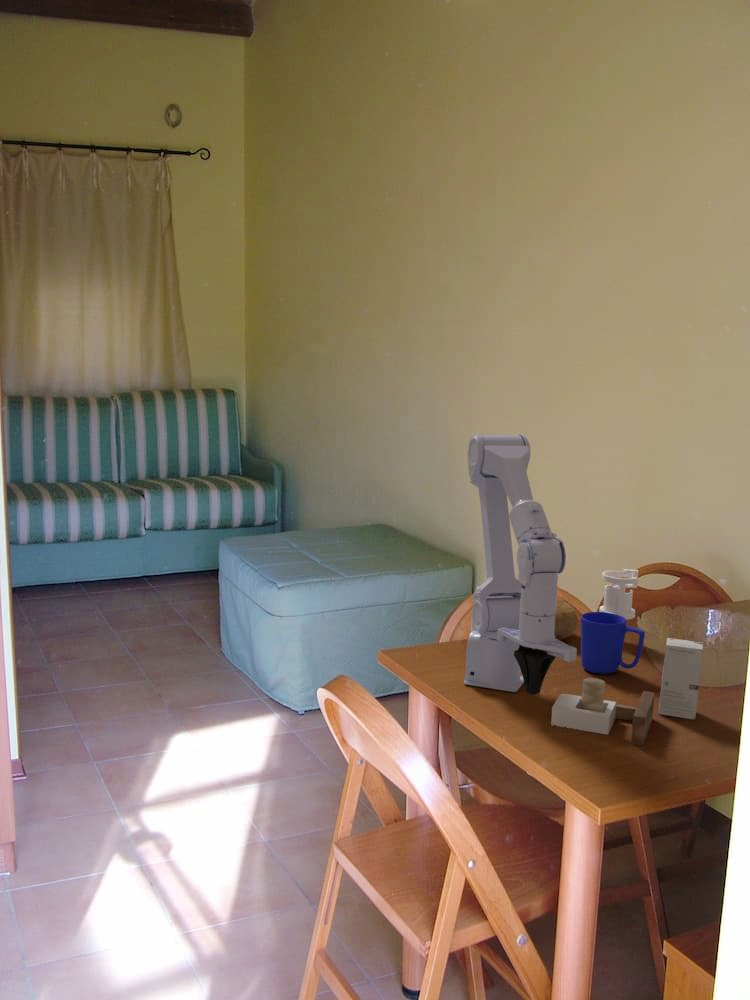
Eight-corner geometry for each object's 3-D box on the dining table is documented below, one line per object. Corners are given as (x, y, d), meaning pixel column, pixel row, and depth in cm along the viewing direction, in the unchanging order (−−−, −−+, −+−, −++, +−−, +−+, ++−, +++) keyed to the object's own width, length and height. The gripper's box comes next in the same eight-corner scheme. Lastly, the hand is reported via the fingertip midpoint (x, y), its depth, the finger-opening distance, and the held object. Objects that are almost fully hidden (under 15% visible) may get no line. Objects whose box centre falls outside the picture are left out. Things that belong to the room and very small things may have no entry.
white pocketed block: (551, 725, 167) (552, 707, 166) (559, 710, 173) (561, 693, 173) (608, 734, 164) (609, 716, 163) (614, 719, 170) (616, 701, 169)
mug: (631, 685, 186) (635, 631, 185) (569, 670, 194) (573, 618, 192) (649, 674, 193) (653, 621, 191) (589, 659, 200) (592, 609, 198)
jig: (547, 729, 165) (548, 702, 164) (562, 704, 176) (563, 678, 175) (643, 745, 160) (645, 717, 159) (652, 718, 171) (654, 692, 170)
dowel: (578, 722, 167) (581, 683, 166) (582, 714, 170) (585, 676, 169) (599, 725, 166) (602, 686, 165) (603, 718, 169) (606, 680, 168)
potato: (540, 648, 206) (543, 609, 205) (520, 627, 220) (522, 590, 218) (588, 647, 208) (591, 608, 206) (564, 626, 221) (567, 590, 220)
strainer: (635, 647, 209) (641, 574, 206) (600, 645, 209) (605, 572, 206) (629, 636, 216) (634, 565, 213) (594, 635, 216) (599, 564, 213)
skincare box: (658, 715, 173) (664, 644, 170) (659, 706, 177) (665, 636, 175) (697, 720, 171) (703, 649, 169) (697, 711, 175) (703, 641, 173)
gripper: (589, 617, 166) (584, 699, 168) (517, 598, 176) (513, 676, 178) (563, 625, 161) (558, 709, 163) (490, 605, 171) (486, 684, 174)
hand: (532, 692), depth 171 cm, fingers closed
